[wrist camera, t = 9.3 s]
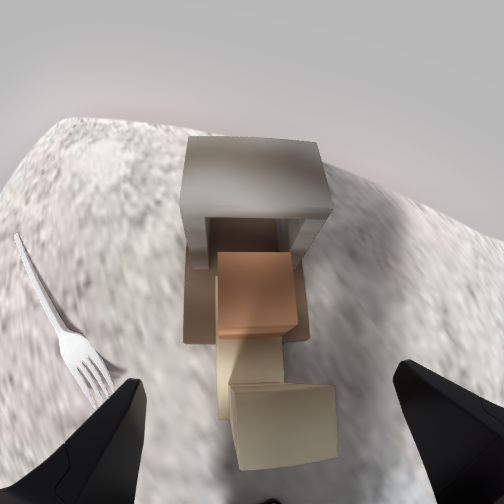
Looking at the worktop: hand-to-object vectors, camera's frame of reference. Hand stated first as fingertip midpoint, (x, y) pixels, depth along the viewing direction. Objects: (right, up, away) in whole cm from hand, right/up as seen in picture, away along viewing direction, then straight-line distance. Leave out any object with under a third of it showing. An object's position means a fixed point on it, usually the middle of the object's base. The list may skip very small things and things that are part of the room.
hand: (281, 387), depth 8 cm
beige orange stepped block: (-1, -2, +10) cm, 11 cm away
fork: (-19, 0, +11) cm, 22 cm away
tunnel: (-2, +5, +15) cm, 16 cm away
